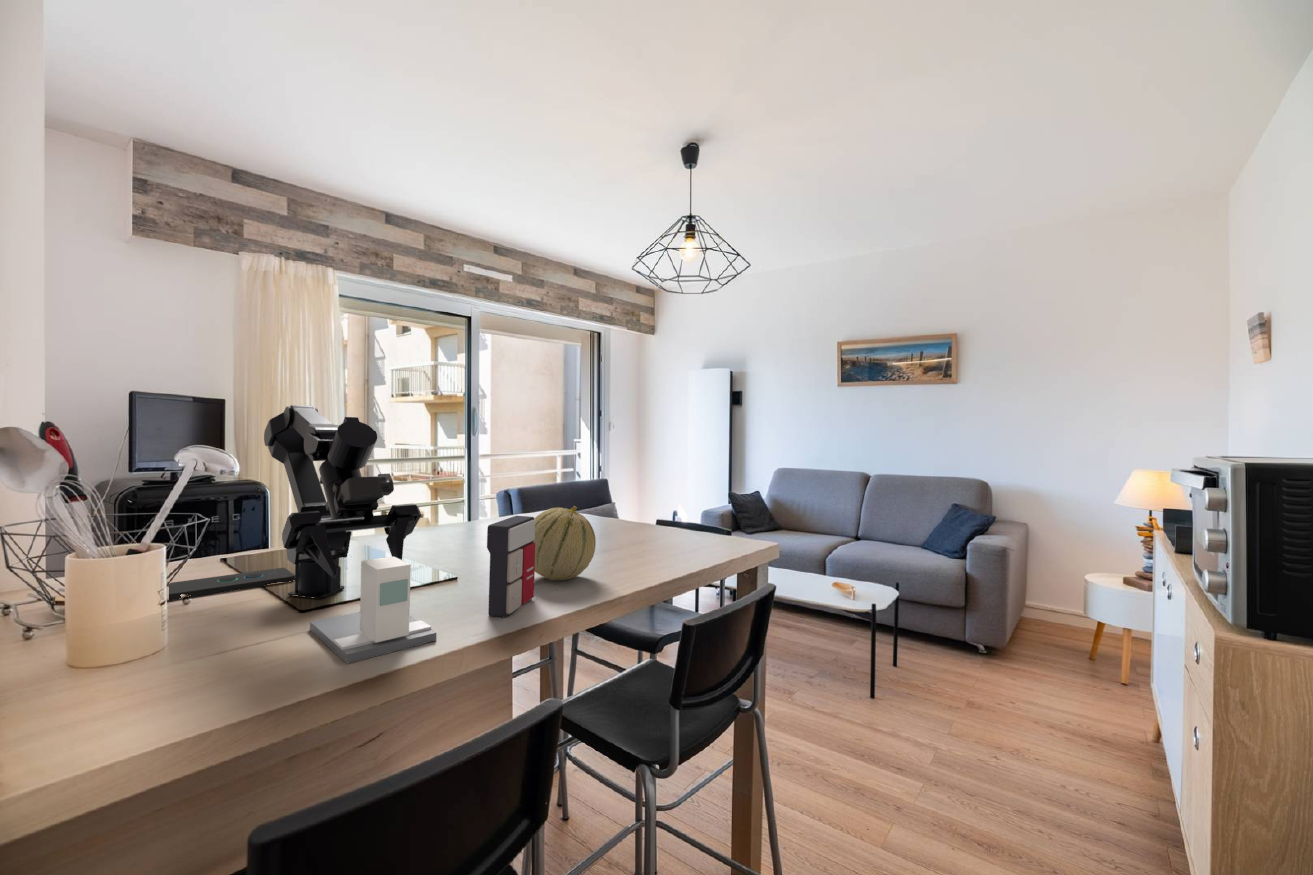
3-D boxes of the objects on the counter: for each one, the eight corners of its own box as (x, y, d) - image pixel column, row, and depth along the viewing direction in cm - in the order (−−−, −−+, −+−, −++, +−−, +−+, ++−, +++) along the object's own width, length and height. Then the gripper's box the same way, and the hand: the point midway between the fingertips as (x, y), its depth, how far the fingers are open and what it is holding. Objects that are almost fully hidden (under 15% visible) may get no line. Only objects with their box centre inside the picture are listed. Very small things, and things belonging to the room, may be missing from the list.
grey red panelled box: (508, 618, 94) (511, 527, 94) (484, 616, 95) (487, 525, 94) (536, 599, 105) (538, 516, 104) (514, 596, 106) (516, 515, 105)
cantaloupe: (511, 574, 120) (513, 502, 120) (575, 566, 128) (577, 499, 128) (538, 593, 108) (540, 513, 108) (607, 583, 116) (610, 509, 116)
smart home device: (296, 575, 110) (158, 595, 95) (296, 584, 110) (157, 605, 96) (284, 566, 116) (152, 584, 101) (284, 574, 116) (152, 593, 101)
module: (359, 630, 82) (361, 560, 82) (392, 623, 86) (393, 556, 85) (376, 643, 78) (378, 569, 78) (409, 635, 81) (411, 564, 81)
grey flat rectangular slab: (346, 663, 75) (347, 651, 75) (310, 629, 86) (310, 618, 86) (436, 640, 84) (436, 629, 84) (392, 612, 95) (392, 602, 95)
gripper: (289, 457, 83) (310, 548, 76) (418, 455, 96) (446, 532, 89) (273, 504, 89) (292, 593, 81) (397, 496, 102) (423, 572, 95)
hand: (368, 570), depth 86 cm, fingers open, 9 cm apart
